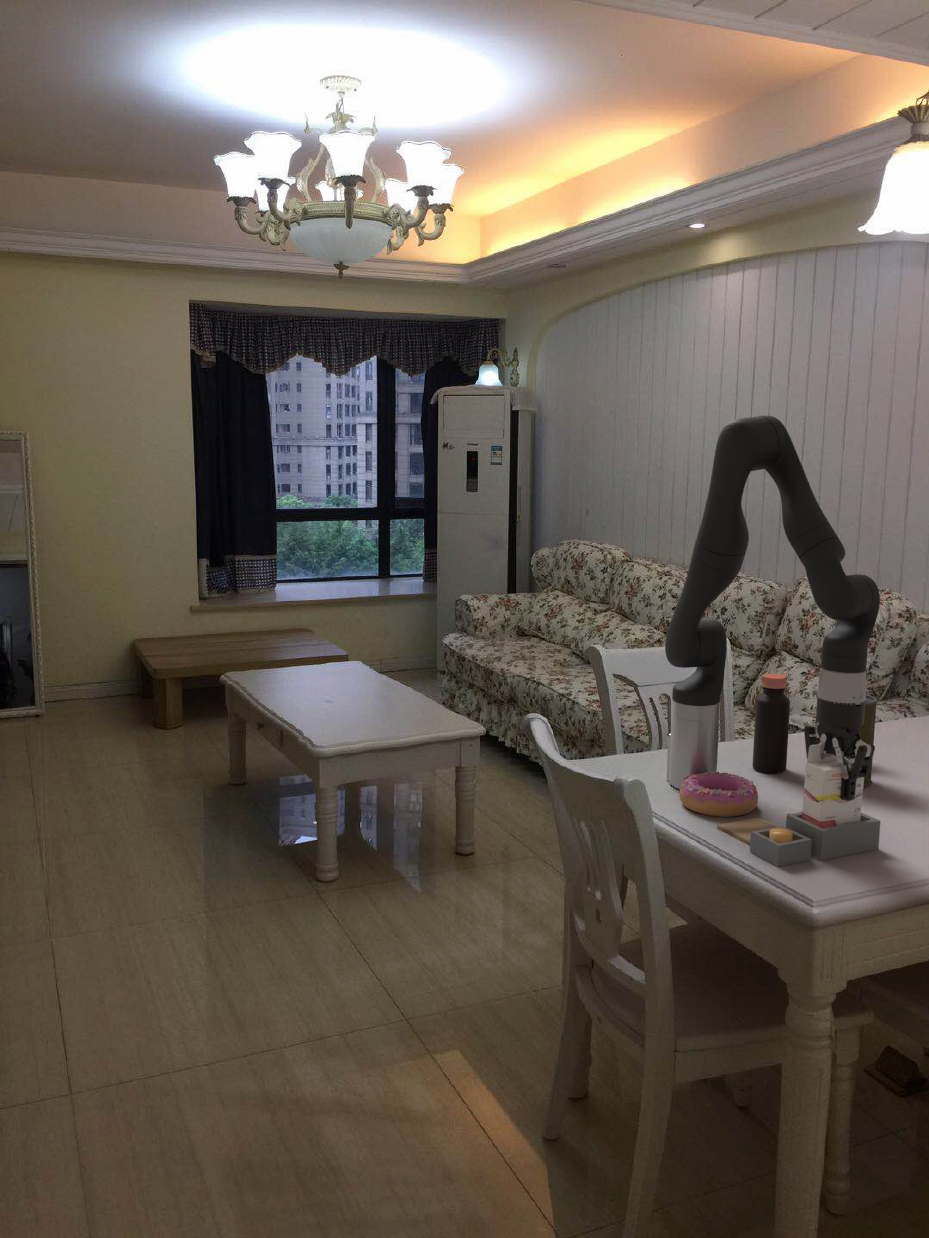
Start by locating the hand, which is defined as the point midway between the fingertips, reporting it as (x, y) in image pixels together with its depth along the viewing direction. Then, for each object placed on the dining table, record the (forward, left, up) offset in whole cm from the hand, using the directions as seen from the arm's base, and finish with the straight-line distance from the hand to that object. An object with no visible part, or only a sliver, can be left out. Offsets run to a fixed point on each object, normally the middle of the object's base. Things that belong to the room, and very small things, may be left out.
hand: (834, 793), depth 174 cm
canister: (-26, +28, -9) cm, 39 cm away
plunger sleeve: (0, -11, -9) cm, 14 cm away
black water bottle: (-38, +19, -9) cm, 43 cm away
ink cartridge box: (0, 0, -7) cm, 7 cm away
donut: (-24, -5, -10) cm, 26 cm away
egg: (0, -11, -9) cm, 14 cm away
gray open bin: (0, 0, -9) cm, 9 cm away
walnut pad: (-10, -8, -9) cm, 16 cm away
